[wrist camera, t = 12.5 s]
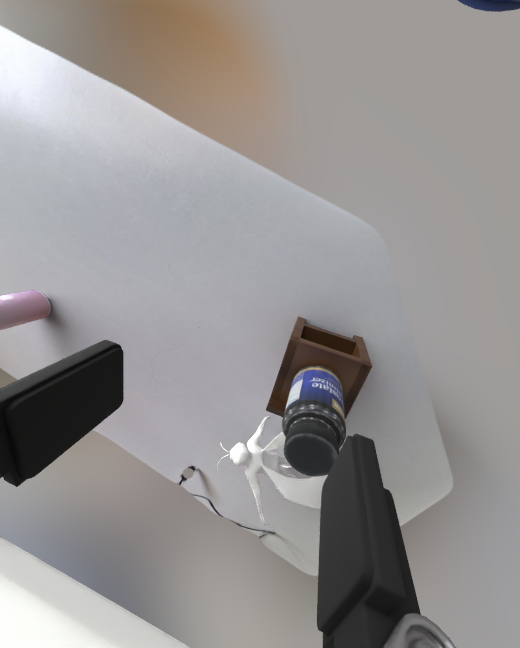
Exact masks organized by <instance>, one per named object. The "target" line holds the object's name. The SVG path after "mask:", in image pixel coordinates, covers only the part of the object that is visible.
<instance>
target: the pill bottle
mask: <svg viewBox="0 0 520 648" xmlns="http://www.w3.org/2000/svg"><path fill="white" fill-rule="evenodd" d="M282 429H283V433H284V435H285V444H284V455H285V457H286V460H287V461H288V463H289V464H290V465H291V466H292V467H293V468H294V469H295V470H297V471H299V472H301V473H303V474H306V475H309V476H324V475H328V474H329V472H330V470H331V468H332V466H333V464H334V462H335V460H336V458H337V456H338V454H339V448H340V447H341V446H342V445H343V442H344V440H345V437H346V427H345V415H344V402H343V390H342V383H341V380H340V379H339V377H338V376H337V375H336V374H335V373H334V372H333V371H332V370H330V369H328V368H326V367H323V366H307V367H305V368H303V369H301V370H300V371H299V372H298V373H297V374H296V375H295V377H294V379H293V383H292V386H291V390H290V394H289V397H288V401H287V405H286V409H285V413H284V416H283V420H282Z"/></svg>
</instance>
